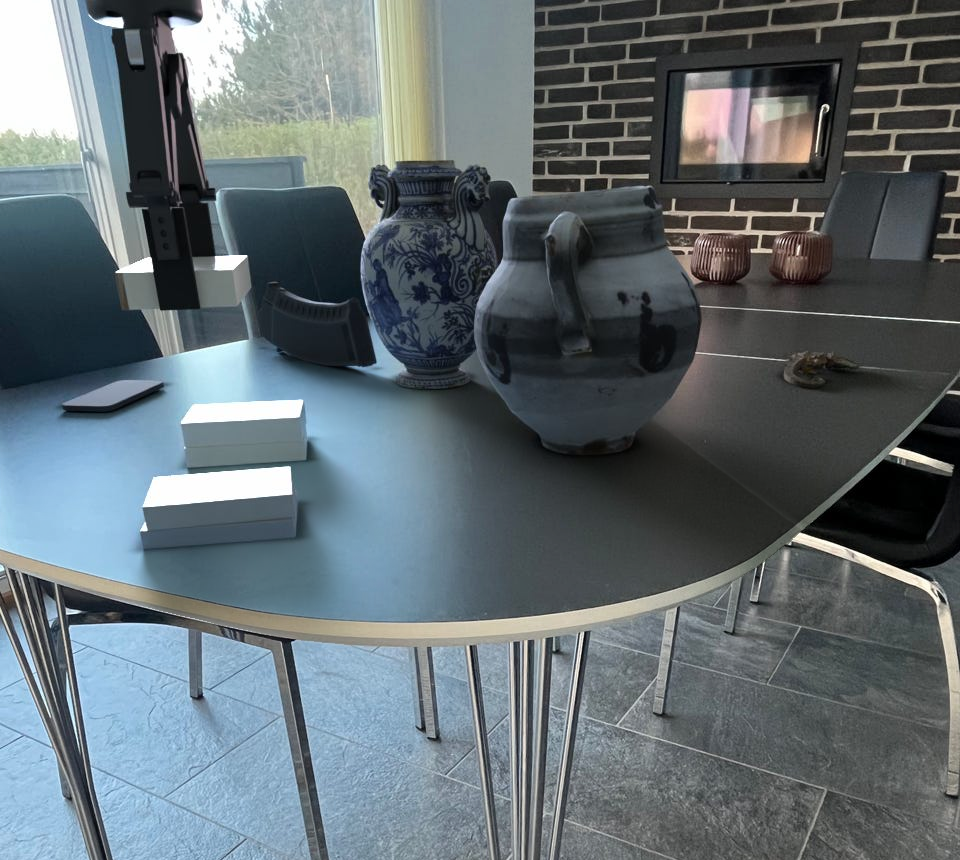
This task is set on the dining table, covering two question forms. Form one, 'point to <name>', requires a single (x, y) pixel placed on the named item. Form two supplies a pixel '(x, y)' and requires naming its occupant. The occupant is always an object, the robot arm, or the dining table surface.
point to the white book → (215, 278)
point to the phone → (113, 395)
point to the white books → (245, 433)
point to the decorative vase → (427, 267)
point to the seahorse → (813, 367)
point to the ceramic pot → (587, 317)
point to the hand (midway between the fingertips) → (193, 298)
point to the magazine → (316, 329)
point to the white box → (220, 508)
